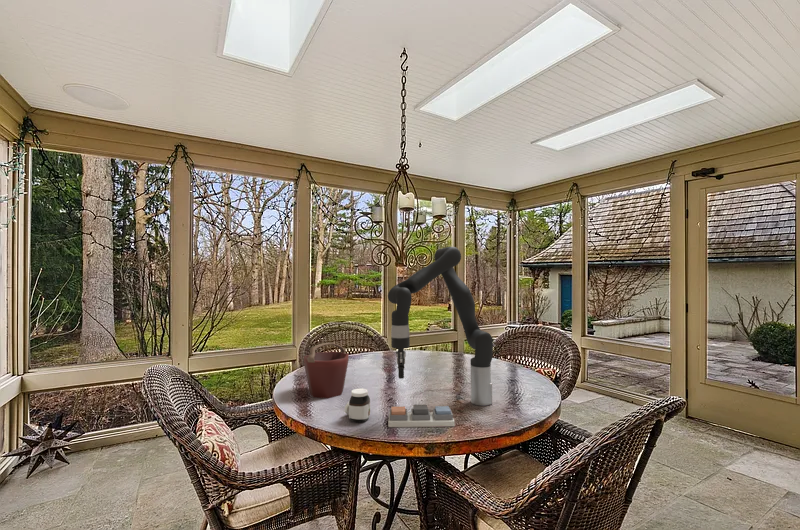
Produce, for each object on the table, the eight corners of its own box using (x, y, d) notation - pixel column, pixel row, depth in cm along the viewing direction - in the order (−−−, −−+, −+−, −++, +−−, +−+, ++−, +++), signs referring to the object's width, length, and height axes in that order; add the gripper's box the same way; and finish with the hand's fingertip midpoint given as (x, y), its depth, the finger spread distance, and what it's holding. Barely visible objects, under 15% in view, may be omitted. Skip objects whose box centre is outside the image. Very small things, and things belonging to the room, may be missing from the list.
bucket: (313, 403, 178) (313, 349, 178) (293, 392, 195) (293, 343, 195) (358, 393, 193) (357, 343, 194) (335, 383, 210) (335, 337, 211)
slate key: (448, 411, 159) (448, 406, 159) (450, 417, 153) (450, 411, 153) (435, 412, 159) (435, 406, 159) (436, 417, 153) (436, 411, 153)
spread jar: (364, 424, 153) (363, 395, 153) (338, 422, 156) (338, 393, 156) (374, 414, 165) (374, 386, 165) (349, 411, 168) (349, 384, 168)
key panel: (450, 416, 161) (450, 407, 161) (454, 426, 151) (454, 416, 151) (388, 417, 161) (388, 407, 161) (388, 427, 151) (388, 416, 151)
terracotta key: (405, 412, 159) (405, 406, 159) (405, 417, 153) (405, 411, 153) (391, 412, 158) (391, 406, 159) (391, 417, 153) (391, 411, 153)
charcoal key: (426, 410, 159) (426, 404, 159) (428, 415, 153) (428, 409, 153) (413, 410, 159) (413, 404, 159) (414, 415, 153) (414, 409, 153)
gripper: (410, 338, 151) (411, 382, 151) (408, 332, 164) (409, 373, 164) (391, 338, 151) (392, 383, 151) (391, 333, 164) (392, 373, 164)
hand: (401, 377), depth 157 cm, fingers closed
